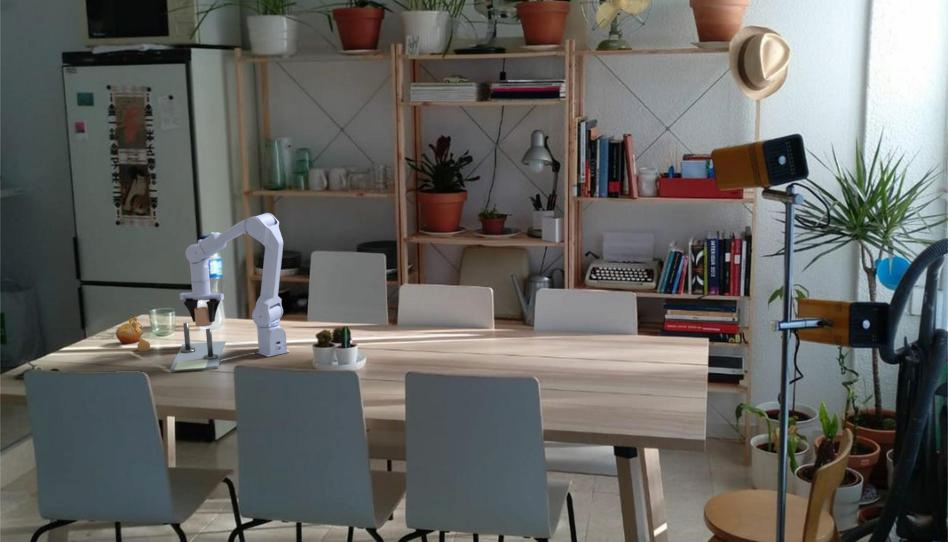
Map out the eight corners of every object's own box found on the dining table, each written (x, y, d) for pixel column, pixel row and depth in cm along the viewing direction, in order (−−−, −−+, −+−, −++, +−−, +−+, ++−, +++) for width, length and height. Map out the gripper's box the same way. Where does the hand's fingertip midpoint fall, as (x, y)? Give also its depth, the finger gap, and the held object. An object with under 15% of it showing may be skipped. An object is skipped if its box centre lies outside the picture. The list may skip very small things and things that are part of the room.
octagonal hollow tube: (215, 324, 332) (213, 307, 330) (202, 327, 328) (200, 310, 327) (206, 322, 335) (204, 305, 334) (193, 325, 331) (191, 308, 330)
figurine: (146, 355, 325) (143, 319, 323) (127, 356, 325) (124, 319, 323) (154, 348, 333) (151, 313, 331) (136, 349, 333) (132, 313, 331)
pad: (178, 362, 314) (178, 361, 314) (208, 360, 315) (208, 359, 315) (174, 370, 305) (174, 369, 305) (205, 368, 306) (205, 367, 306)
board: (182, 346, 335) (182, 343, 335) (226, 343, 337) (225, 341, 337) (170, 371, 306) (169, 369, 306) (217, 368, 308) (217, 365, 308)
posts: (178, 351, 326) (176, 323, 324) (190, 348, 329) (188, 320, 327) (208, 360, 314) (206, 331, 313) (220, 357, 318) (218, 328, 316)
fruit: (148, 335, 346) (141, 318, 341) (141, 352, 340) (134, 335, 335) (125, 335, 347) (118, 318, 341) (117, 352, 341) (110, 335, 335)
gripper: (226, 278, 331) (230, 319, 333) (186, 277, 334) (189, 318, 337) (216, 282, 324) (220, 324, 327) (175, 282, 327) (178, 323, 330)
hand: (203, 321), depth 331 cm, fingers closed on octagonal hollow tube, 5 cm apart
